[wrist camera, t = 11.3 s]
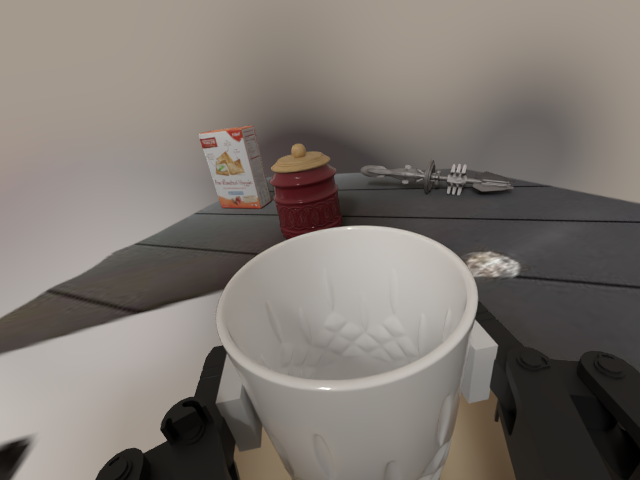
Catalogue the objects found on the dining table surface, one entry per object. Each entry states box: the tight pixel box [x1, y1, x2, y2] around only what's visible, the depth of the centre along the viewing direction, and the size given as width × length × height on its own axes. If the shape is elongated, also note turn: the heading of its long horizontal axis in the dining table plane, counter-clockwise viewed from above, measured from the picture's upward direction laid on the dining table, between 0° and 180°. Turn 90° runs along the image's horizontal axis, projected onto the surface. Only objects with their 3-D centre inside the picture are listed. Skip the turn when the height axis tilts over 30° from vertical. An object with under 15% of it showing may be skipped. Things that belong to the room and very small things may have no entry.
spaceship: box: [360, 160, 515, 195], centre depth 68 cm, size 8×35×8 cm
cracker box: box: [199, 126, 271, 209], centre depth 78 cm, size 14×6×21 cm, turn 67°
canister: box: [270, 144, 342, 240], centre depth 57 cm, size 13×13×18 cm
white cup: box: [216, 226, 478, 480], centre depth 11 cm, size 8×8×10 cm
